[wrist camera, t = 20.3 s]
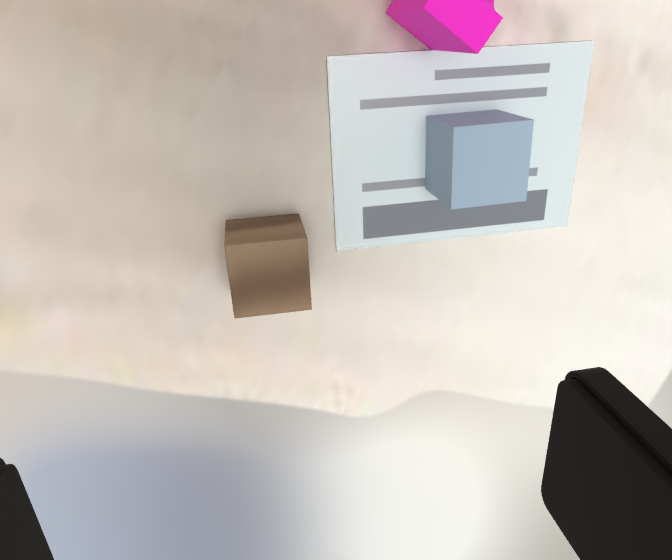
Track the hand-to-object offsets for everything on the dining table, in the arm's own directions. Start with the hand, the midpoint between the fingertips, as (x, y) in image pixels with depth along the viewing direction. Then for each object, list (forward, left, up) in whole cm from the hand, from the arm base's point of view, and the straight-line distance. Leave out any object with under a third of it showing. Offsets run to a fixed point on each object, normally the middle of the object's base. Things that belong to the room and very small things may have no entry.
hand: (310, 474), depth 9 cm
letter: (+1, +14, -28) cm, 32 cm away
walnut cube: (+7, 0, -28) cm, 29 cm away
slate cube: (+1, +14, -28) cm, 31 cm away
